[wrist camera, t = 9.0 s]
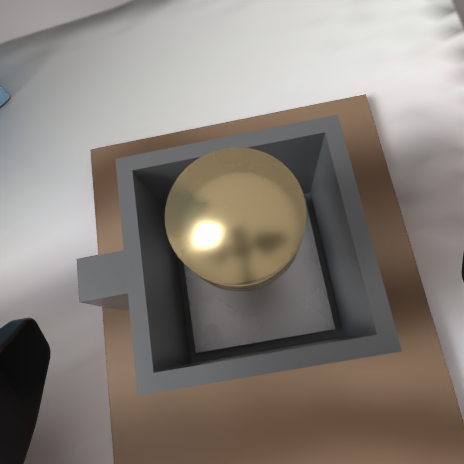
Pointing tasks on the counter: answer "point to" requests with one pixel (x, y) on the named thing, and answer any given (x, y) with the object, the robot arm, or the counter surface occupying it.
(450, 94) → the counter surface
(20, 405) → the robot arm
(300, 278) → the plunger
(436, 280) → the counter surface
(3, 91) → the gum box
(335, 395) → the walnut board
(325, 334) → the grey open box
